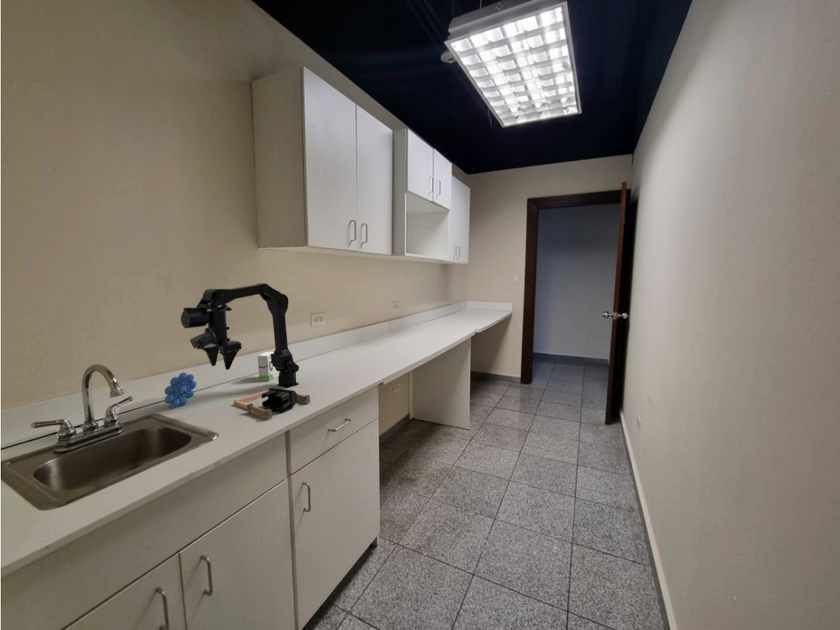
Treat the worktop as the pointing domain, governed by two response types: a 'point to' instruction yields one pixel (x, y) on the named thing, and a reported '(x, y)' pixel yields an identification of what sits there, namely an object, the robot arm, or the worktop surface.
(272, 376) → the ink box
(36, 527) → the worktop surface
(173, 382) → the grapes
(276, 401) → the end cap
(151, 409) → the worktop surface
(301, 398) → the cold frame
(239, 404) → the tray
